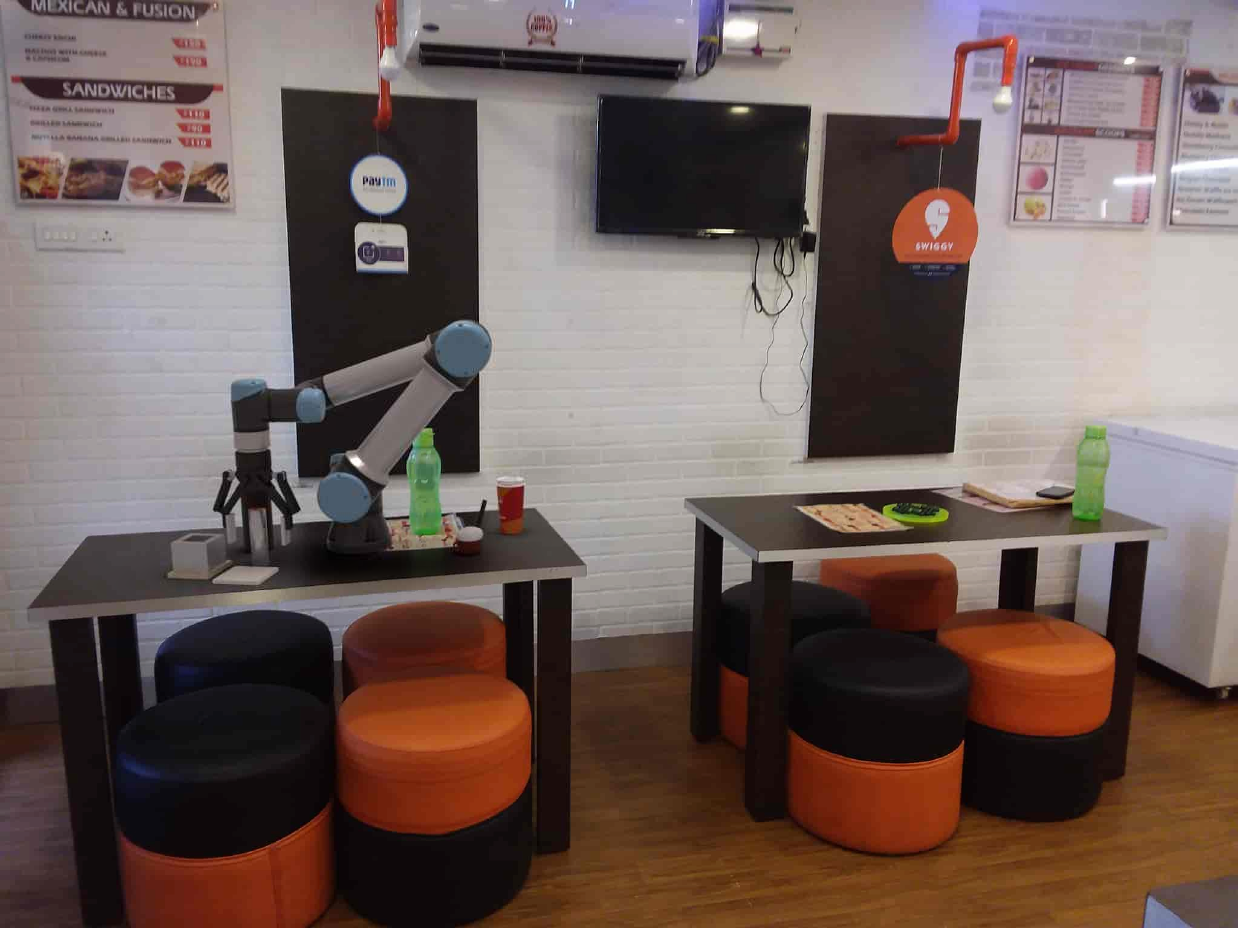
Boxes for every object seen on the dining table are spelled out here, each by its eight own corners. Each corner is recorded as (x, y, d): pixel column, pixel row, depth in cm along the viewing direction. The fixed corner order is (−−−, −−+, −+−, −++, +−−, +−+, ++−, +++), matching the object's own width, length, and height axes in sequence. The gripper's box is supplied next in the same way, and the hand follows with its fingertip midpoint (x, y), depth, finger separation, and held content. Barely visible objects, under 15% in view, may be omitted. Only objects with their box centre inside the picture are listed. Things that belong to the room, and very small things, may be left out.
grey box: (241, 558, 219) (239, 527, 218) (207, 579, 204) (204, 546, 202) (204, 557, 220) (201, 526, 218) (167, 578, 205) (164, 544, 203)
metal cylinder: (271, 562, 216) (268, 507, 214) (264, 567, 213) (261, 511, 210) (256, 562, 216) (253, 507, 214) (249, 566, 213) (245, 510, 210)
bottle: (274, 551, 225) (269, 469, 221) (244, 554, 223) (237, 471, 219) (274, 543, 231) (269, 464, 227) (244, 546, 229) (238, 465, 225)
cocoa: (455, 559, 221) (451, 510, 218) (449, 551, 227) (446, 503, 224) (494, 553, 225) (491, 505, 222) (488, 545, 230) (485, 498, 227)
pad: (278, 570, 210) (278, 567, 210) (257, 585, 200) (257, 581, 200) (235, 569, 211) (235, 565, 211) (212, 583, 201) (212, 579, 201)
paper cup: (500, 527, 248) (499, 475, 245) (529, 528, 247) (528, 476, 244) (492, 535, 240) (491, 481, 238) (522, 536, 239) (521, 482, 237)
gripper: (312, 447, 212) (317, 540, 216) (209, 444, 214) (216, 536, 218) (298, 453, 205) (304, 549, 209) (191, 450, 207) (199, 545, 211)
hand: (259, 542), depth 214 cm, fingers open, 12 cm apart
